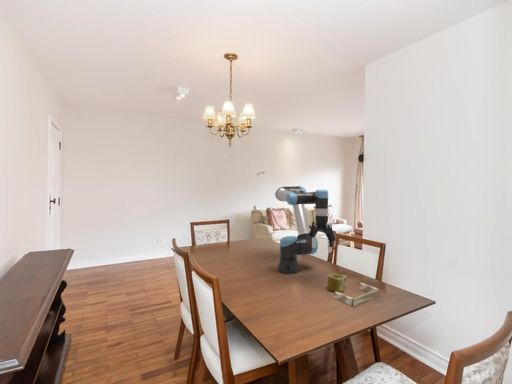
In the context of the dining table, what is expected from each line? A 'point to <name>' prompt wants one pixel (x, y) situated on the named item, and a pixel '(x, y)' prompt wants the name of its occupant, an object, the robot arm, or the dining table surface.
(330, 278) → the mug
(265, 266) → the dining table surface
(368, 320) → the dining table surface
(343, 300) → the cradle
